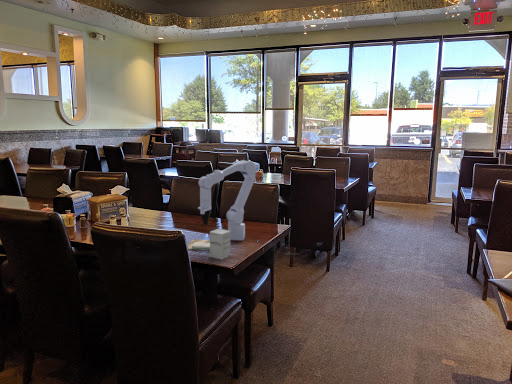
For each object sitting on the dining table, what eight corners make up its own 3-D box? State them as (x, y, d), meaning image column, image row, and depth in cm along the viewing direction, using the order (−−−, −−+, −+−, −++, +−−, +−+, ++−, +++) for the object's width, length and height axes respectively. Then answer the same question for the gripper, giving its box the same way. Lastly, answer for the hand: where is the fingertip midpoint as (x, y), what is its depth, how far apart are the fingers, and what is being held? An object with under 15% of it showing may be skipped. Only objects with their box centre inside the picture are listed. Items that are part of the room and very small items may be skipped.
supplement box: (209, 257, 178) (209, 231, 176) (218, 253, 184) (218, 228, 182) (221, 260, 174) (221, 233, 172) (230, 255, 180) (231, 230, 178)
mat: (221, 241, 203) (221, 240, 203) (215, 250, 187) (215, 250, 187) (192, 240, 205) (192, 239, 205) (184, 249, 189) (184, 248, 189)
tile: (214, 243, 193) (211, 246, 187) (214, 246, 194) (211, 249, 188) (195, 242, 194) (192, 245, 188) (195, 245, 194) (192, 248, 189)
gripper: (201, 196, 205) (201, 220, 207) (194, 201, 190) (194, 227, 193) (214, 197, 204) (214, 221, 206) (208, 202, 190) (208, 228, 192)
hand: (205, 224), depth 199 cm, fingers closed
